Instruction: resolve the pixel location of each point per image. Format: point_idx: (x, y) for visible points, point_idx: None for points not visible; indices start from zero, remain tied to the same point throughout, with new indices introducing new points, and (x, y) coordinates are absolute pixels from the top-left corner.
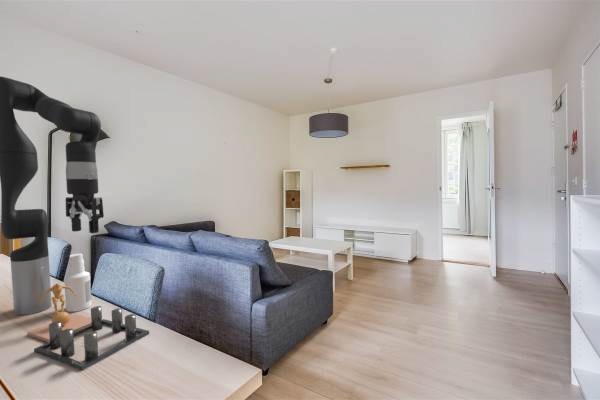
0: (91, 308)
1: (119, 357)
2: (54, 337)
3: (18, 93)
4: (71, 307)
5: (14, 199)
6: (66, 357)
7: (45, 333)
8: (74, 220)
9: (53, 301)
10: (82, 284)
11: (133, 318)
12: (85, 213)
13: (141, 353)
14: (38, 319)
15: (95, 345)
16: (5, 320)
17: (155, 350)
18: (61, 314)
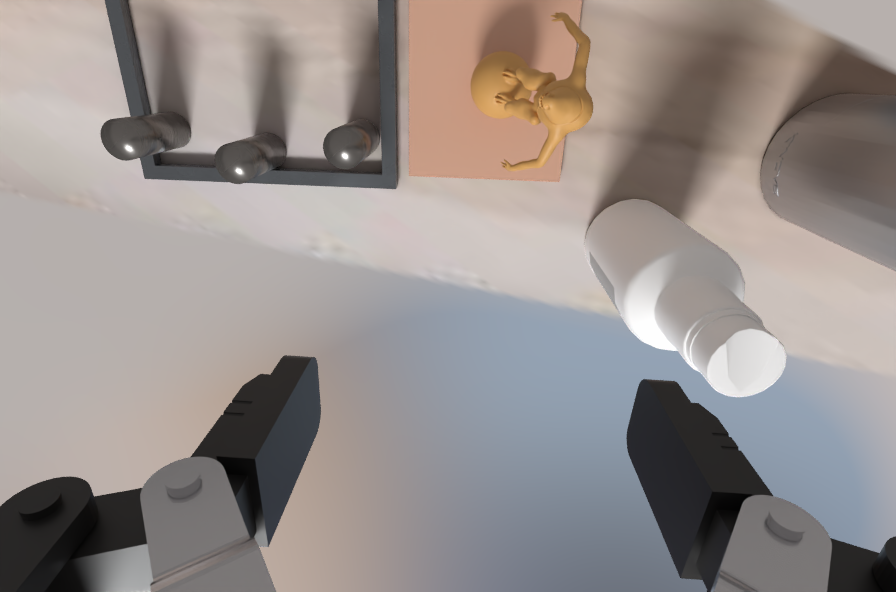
0: (357, 137)
1: (75, 18)
2: None
3: None
4: (620, 206)
5: None
6: None
7: (490, 12)
8: (695, 496)
9: (534, 71)
10: (615, 274)
11: (105, 138)
12: (220, 552)
13: (40, 67)
14: (690, 104)
15: None
16: (841, 40)
17: (22, 99)
18: (485, 79)
